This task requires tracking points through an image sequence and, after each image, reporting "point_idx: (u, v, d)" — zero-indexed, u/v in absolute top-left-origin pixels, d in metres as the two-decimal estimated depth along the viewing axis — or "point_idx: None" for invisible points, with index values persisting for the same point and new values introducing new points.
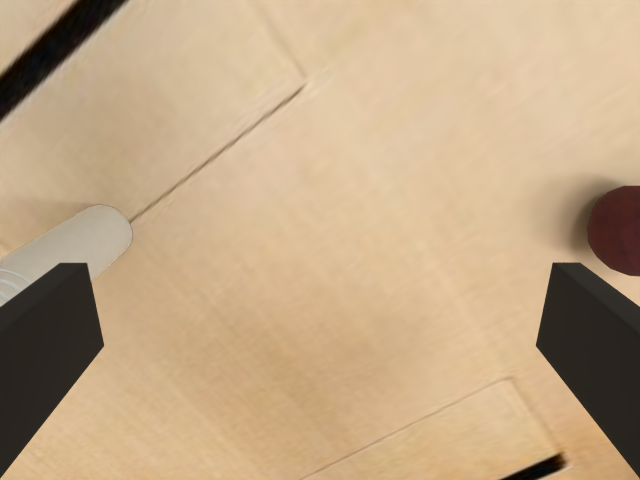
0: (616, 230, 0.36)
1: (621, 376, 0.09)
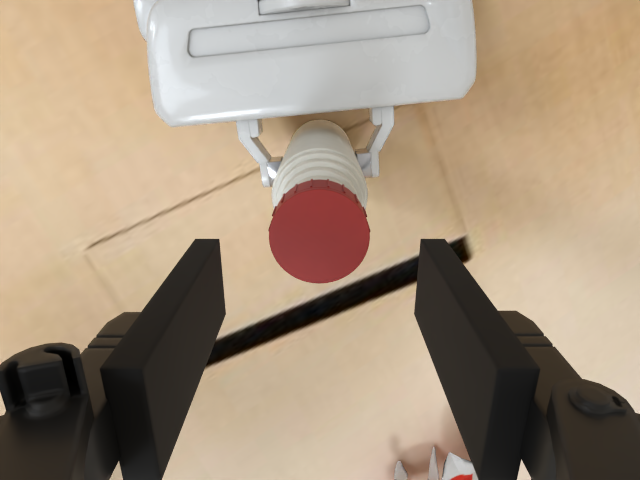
0: None
1: (446, 329, 0.11)
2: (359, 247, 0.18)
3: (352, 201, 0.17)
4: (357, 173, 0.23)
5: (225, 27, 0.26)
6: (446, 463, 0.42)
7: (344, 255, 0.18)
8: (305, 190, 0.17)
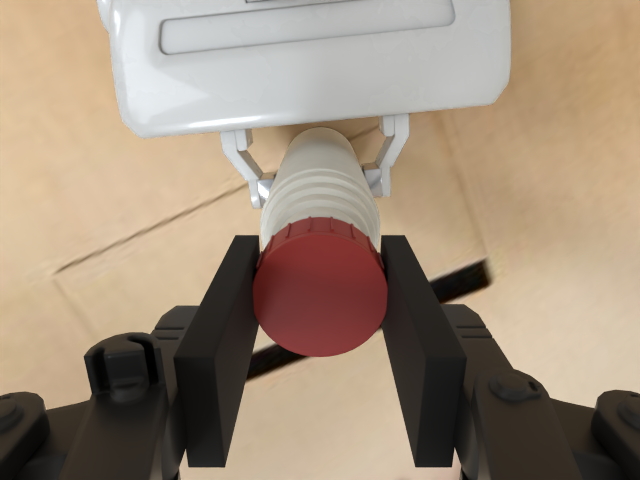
0: None
1: (396, 322, 0.11)
2: (374, 311, 0.13)
3: (365, 251, 0.13)
4: (368, 201, 0.18)
5: (205, 18, 0.21)
6: None
7: (354, 321, 0.13)
8: (300, 236, 0.13)
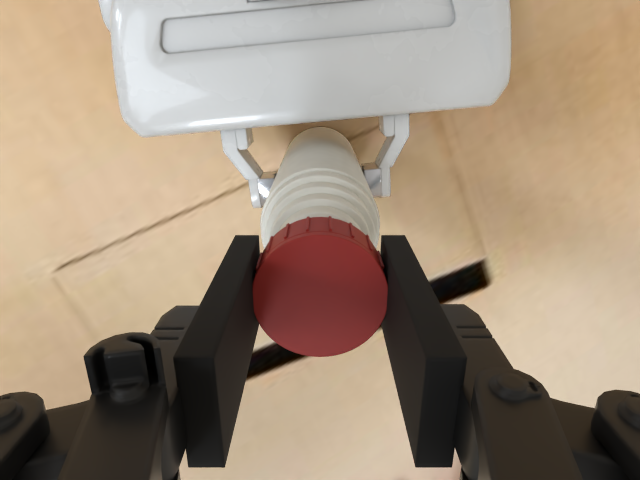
0: None
1: (396, 322, 0.11)
2: (327, 247, 0.12)
3: (262, 263, 0.13)
4: (368, 200, 0.18)
5: (206, 18, 0.21)
6: None
7: (342, 265, 0.13)
8: None
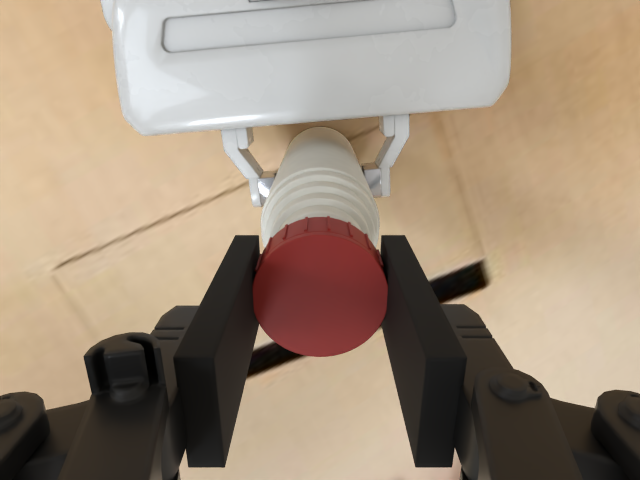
0: None
1: (396, 322, 0.11)
2: (263, 298, 0.13)
3: (289, 349, 0.14)
4: (368, 200, 0.18)
5: (208, 17, 0.22)
6: None
7: (280, 284, 0.13)
8: (350, 348, 0.14)
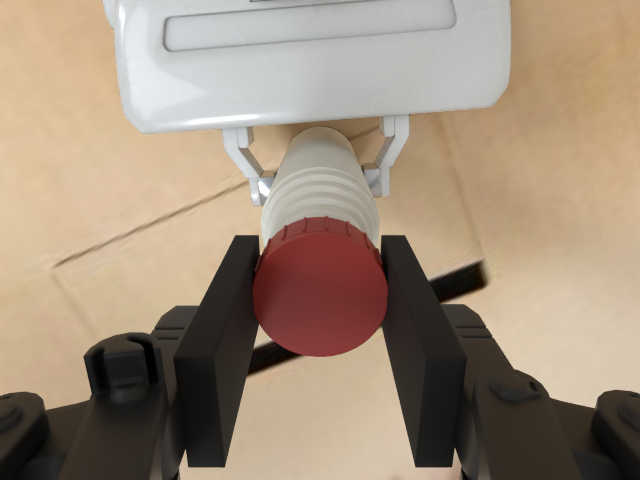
0: None
1: (396, 322, 0.11)
2: (324, 347, 0.14)
3: (381, 320, 0.13)
4: (368, 200, 0.18)
5: (209, 16, 0.22)
6: None
7: (307, 334, 0.14)
8: (378, 262, 0.13)
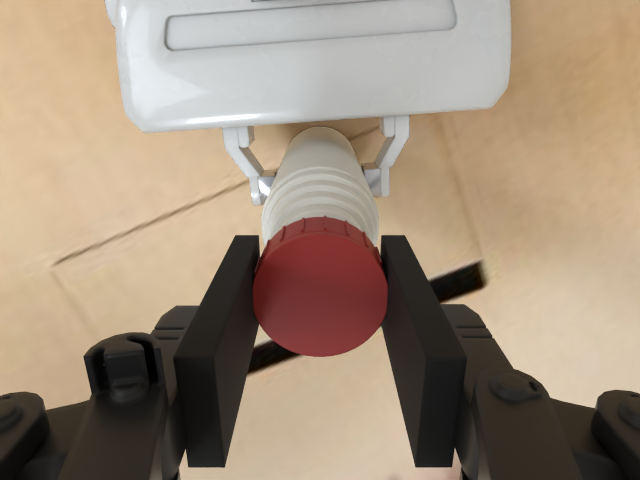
0: None
1: (396, 322, 0.11)
2: (376, 289, 0.13)
3: (339, 237, 0.12)
4: (368, 199, 0.18)
5: (210, 16, 0.22)
6: None
7: (362, 306, 0.13)
8: (274, 249, 0.13)
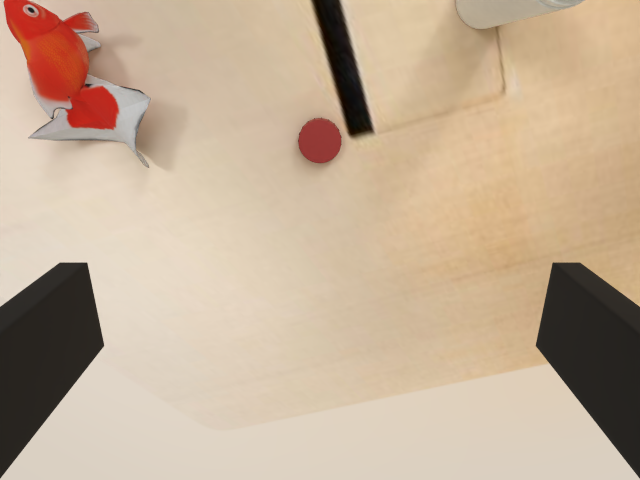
0: None
1: (621, 376, 0.09)
2: (337, 138, 0.42)
3: (325, 121, 0.42)
4: None
5: None
6: (139, 93, 0.37)
7: (332, 144, 0.42)
8: (306, 125, 0.42)
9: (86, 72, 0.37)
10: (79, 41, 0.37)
